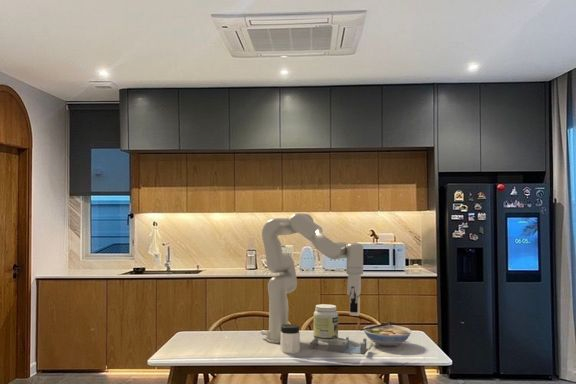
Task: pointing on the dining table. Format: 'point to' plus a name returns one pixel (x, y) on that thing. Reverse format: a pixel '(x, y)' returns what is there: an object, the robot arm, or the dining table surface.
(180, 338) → the dining table surface
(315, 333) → the supplement tub
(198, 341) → the dining table surface
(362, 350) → the grey tiered shelf stand
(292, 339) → the jar
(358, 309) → the plug
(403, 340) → the ramen bowl
